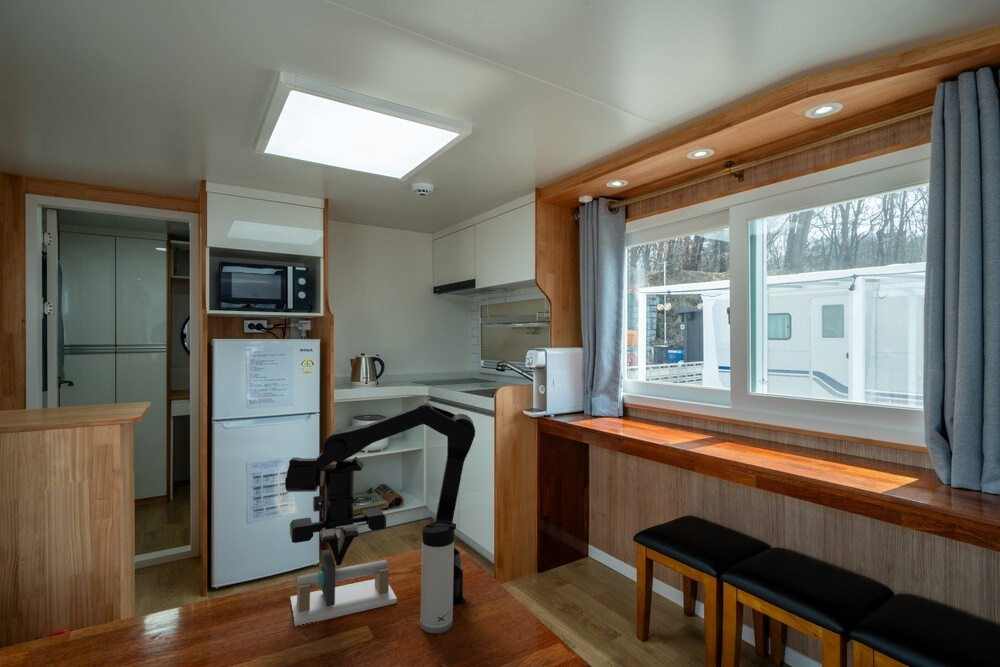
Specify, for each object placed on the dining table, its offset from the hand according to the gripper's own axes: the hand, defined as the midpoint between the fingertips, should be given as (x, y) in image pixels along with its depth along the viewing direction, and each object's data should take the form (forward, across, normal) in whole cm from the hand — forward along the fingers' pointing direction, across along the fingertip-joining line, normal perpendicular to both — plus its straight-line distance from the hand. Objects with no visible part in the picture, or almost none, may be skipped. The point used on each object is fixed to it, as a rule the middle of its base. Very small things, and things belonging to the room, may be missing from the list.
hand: (338, 564), depth 108 cm
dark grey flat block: (+6, +2, 0) cm, 6 cm away
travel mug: (+8, -16, +16) cm, 24 cm away
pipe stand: (+8, -1, 0) cm, 8 cm away
